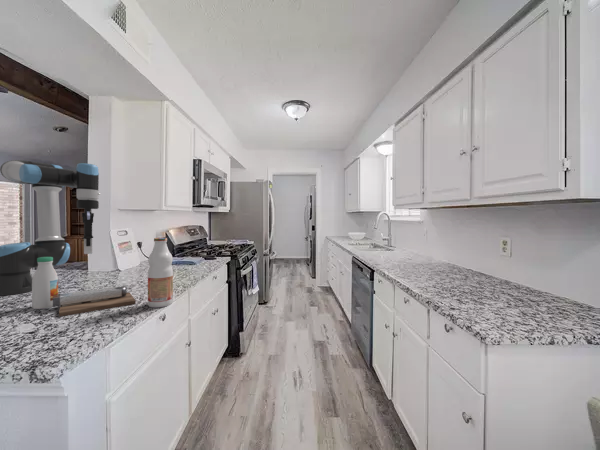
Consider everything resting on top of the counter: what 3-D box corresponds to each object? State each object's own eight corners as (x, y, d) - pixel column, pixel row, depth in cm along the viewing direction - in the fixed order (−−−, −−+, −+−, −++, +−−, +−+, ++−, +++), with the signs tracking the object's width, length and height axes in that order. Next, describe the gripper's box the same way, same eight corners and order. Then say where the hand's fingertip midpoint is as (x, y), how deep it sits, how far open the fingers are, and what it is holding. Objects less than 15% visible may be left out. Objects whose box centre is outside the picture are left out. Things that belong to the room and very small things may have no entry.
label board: (60, 305, 110) (60, 301, 110) (129, 295, 125) (129, 291, 125) (59, 316, 98) (59, 311, 98) (135, 304, 113) (135, 299, 113)
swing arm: (125, 292, 123) (125, 285, 123) (127, 295, 118) (127, 288, 118) (53, 302, 107) (53, 294, 107) (52, 306, 102) (52, 298, 102)
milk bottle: (42, 310, 104) (41, 259, 104) (26, 309, 106) (26, 258, 105) (63, 304, 112) (63, 256, 111) (48, 303, 113) (48, 255, 113)
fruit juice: (157, 309, 107) (157, 239, 106) (142, 305, 111) (142, 238, 110) (177, 303, 115) (178, 237, 115) (163, 299, 119) (163, 237, 119)
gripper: (99, 199, 114) (100, 254, 114) (97, 201, 126) (97, 251, 126) (76, 198, 109) (77, 255, 110) (76, 200, 121) (76, 252, 122)
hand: (88, 253), depth 118 cm, fingers open, 3 cm apart
